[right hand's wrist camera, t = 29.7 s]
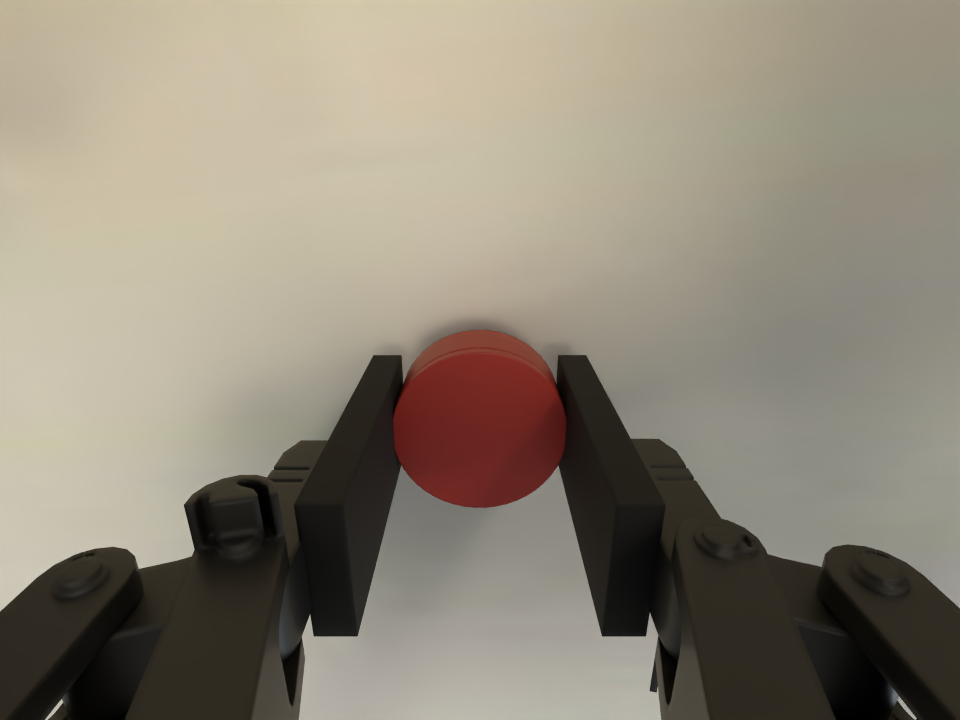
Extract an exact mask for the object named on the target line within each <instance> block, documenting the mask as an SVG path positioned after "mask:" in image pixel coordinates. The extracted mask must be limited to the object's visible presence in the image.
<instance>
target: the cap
mask: <svg viewBox="0 0 960 720" xmlns="http://www.w3.org/2000/svg"><path fill="white" fill-rule="evenodd" d="M566 422H567V417H566V413H565V409H564V406H563V403H562V400H561V397H560V394H559V391H558V388H557V385H556V382H555V379H554V377H553V374H552V372H551V370H550V368H549V367H548V365H547V363H546V362H545V361H544V360H543V358H542V357H541V356H540V355H539V354H538V353H537V352H536V351H535V350H534V349H533V348H531V347H530V346H529V345H527V344H526V343H524V342H523V341H521V340H519V339H517V338H515V337H512V336H510V335H507V334H504V333H500V332H496V331H489V330H471V331H463V332H459V333H456V334H452V335H450V336H447V337H445V338H442V339H441V340H439V341H437V342H435V343H434V344H432V345H431V346H430V347H428V348H427V349H426V350H425V351H424V352H423V353H421V354H420V355H419V356H418V358H417V359H416V360H415V362H414V363H413V364H412V366H411V368H410V369H409V371H408V373H407V376H406V378H405V381H404V383H403V386H402V389H401V392H400V395H399V398H398V401H397V404H396V407H395V411H394V415H393V428H394V443H395V452H396V454H397V457H398V460H399V461H400V463H401V465H402V467H403V469H404V470H405V471H406V473H407V474H408V475H409V477H410V478H411V479H412V480H413V481H414V482H415V483H416V484H417V485H418V486H420V487H421V488H422V489H423V490H425V491H426V492H428V493H429V494H431V495H433V496H434V497H436V498H439V499H441V500H443V501H446V502H449V503H452V504H455V505H460V506H464V507H474V508H486V507H495V506H500V505H504V504H508V503H511V502H514V501H517V500H519V499H521V498H523V497H525V496H527V495H529V494H530V493H532V492H533V491H535V490H536V489H537V488H539V487H540V486H541V485H542V484H543V483H544V482H545V481H546V480H547V479H548V478H549V477H550V476H551V475H552V473H553V472H554V471H555V469H556V468H557V466H558V464H559V462H560V460H561V459H562V456H563V453H564V450H565V438H566Z"/></svg>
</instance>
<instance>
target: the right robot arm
mask: <svg viewBox="0 0 960 720" xmlns="http://www.w3.org/2000/svg"><path fill="white" fill-rule="evenodd" d="M556 385H557V388H558V391H559V394H560V397H561V400H562V403H563V406H564V409H565V413H566V417H567V422H566V438H565V450H564V453H563V456H562V459H561V460H560V462H559V464H558V465H559V469H560V473H561V477H562V481H563V484H564V488H565V492H566V496H567V500H568V504H569V508H570V512H571V516H572V520H573V524H574V528H575V532H576V536H577V540H578V544H579V547H580V551H581V555H582V559H583V563H584V567H585V571H586V575H587V579H588V583H589V587H590V591H591V595H592V599H593V603H594V606H595V610H596V614H597V618H598V622H599V626H600V630H601V634H602V636H646V632H647V626H648V619H649V612H650V614H651V616H652V619H653V622H654V624H655V627H656V630H657V632H658V635H659V636H658V642H657V648H656V654H655V660H654V666H653V672H652V678H651V685H650V691H652V692H657V687H658V691H659V700H660V710H661V720H914V719H913V718H912V717H911V716H910V715H909V714H908V713H907V712H906V711H905V710H904V709H903V707H902V706H901V705H900V703H899V702H898V701H897V699H898V697H900V698H901V699H902V700H903V702H904V703H905V704H906V705H907V707H908V708H909V709H910V710H911V711H912V713H913V714H914V715H915V716H916V718H917V719H916V720H960V608H959V607H957V606H956V605H955V604H954V603H953V602H952V601H951V600H950V599H949V598H948V597H947V596H945V595H944V594H943V593H942V592H941V591H940V590H939V589H938V588H937V587H936V586H935V585H933V584H932V583H931V582H930V581H929V580H928V579H927V578H926V577H925V576H924V575H922V574H921V573H920V572H918V571H917V570H915V569H914V568H913V567H911V566H910V565H909V564H907V563H906V562H904V561H902V560H900V559H898V558H896V557H894V556H892V555H890V554H888V553H885V552H882V551H880V550H875V549H873V548H869V547H865V546H856V545H842V546H836V547H833V548H832V549H830V550H829V551H828V552H827V553H826V554H825V557H824V561H823V564H822V567H819V566H815V565H810V564H805V563H801V562H796V561H792V560H787V559H783V558H779V557H776V556H772V555H769V554H767V552H766V550H765V548H764V547H763V545H762V544H761V542H760V541H759V539H758V538H757V537H756V536H754V535H753V534H752V533H750V532H749V531H748V530H746V529H745V528H744V527H741V526H739V525H737V524H735V523H733V522H730V521H728V520H724V519H721V518H720V516H719V515H718V513H717V512H716V510H715V509H714V507H713V506H712V504H711V503H710V501H709V500H708V498H707V497H706V495H705V494H704V492H703V491H702V489H701V488H700V486H699V485H698V483H697V481H696V480H694V477H693V475H692V474H691V472H690V471H689V469H688V468H686V465H685V463H684V462H683V460H682V459H681V457H680V456H679V454H678V453H677V451H675V450H674V449H672V448H671V447H670V446H668V445H667V444H665V443H664V442H662V441H661V440H660V439H630V437H629V435H628V433H627V431H626V429H625V427H624V425H623V424H622V422H621V420H620V418H619V416H618V414H617V412H616V410H615V409H614V407H613V405H612V403H611V401H610V399H609V397H608V395H607V394H606V392H605V390H604V388H603V386H602V384H601V382H600V380H599V379H598V377H597V375H596V373H595V371H594V369H593V367H592V365H591V364H590V362H589V360H588V358H587V356H586V355H558V366H557V384H556ZM402 386H403V372H402V355H373V357H372V359H371V361H370V363H369V365H368V367H367V369H366V370H365V372H364V374H363V376H362V378H361V380H360V382H359V384H358V385H357V387H356V389H355V391H354V393H353V395H352V397H351V399H350V400H349V402H348V404H347V406H346V408H345V410H344V412H343V414H342V415H341V417H340V419H339V421H338V423H337V425H336V427H335V429H334V430H333V432H332V434H331V436H330V438H329V440H328V441H300V442H298V443H297V444H296V445H294V446H293V447H291V448H290V449H288V450H287V451H286V452H284V453H283V455H282V456H281V458H280V459H279V461H278V462H277V464H276V465H275V467H274V470H272V471H271V473H270V474H269V476H268V477H267V478H266V477H263V476H259V475H238V476H234V477H229V478H224V479H221V480H219V481H216V482H214V483H211V484H209V485H206V486H205V487H203V488H202V489H200V490H199V491H197V492H196V493H194V494H193V495H192V496H191V497H190V498H189V499H188V501H187V502H186V503H185V504H184V507H185V512H186V516H187V520H188V524H189V528H190V532H191V536H192V540H193V544H194V549H195V550H194V553H193V555H192V557H189V558H185V559H182V560H178V561H174V562H169V563H165V564H160V565H156V566H151V567H146V568H142V569H138V565H137V562H136V559H135V556H134V555H133V554H132V553H131V552H129V551H128V550H127V549H122V548H116V547H107V548H98V549H93V550H89V551H86V552H82V553H79V554H76V555H74V556H72V557H70V558H68V559H66V560H64V561H62V562H60V563H58V564H55V565H54V566H52V567H51V568H50V569H48V570H47V571H46V572H44V573H43V574H42V575H40V576H39V577H37V578H36V579H35V580H34V581H33V582H32V583H31V584H30V585H29V586H28V587H27V588H25V589H24V590H23V591H22V592H21V593H20V594H19V595H18V596H17V597H16V598H15V599H14V600H12V601H11V602H10V603H9V604H8V605H7V606H6V607H5V608H4V609H3V610H2V611H0V720H45V719H46V717H47V716H48V715H49V714H50V712H51V711H52V710H53V709H54V707H55V706H56V705H57V704H58V702H59V701H60V700H61V699H62V700H63V704H62V705H61V706H60V707H59V709H58V710H57V711H56V712H55V714H54V715H52V716H51V717H50V718H49V719H48V720H299V711H300V702H301V692H302V682H303V673H304V663H305V655H304V648H303V642H302V634H303V631H304V629H305V626H306V623H307V621H308V618H309V615H311V621H312V628H313V634H314V636H358V633H359V629H360V625H361V621H362V617H363V613H364V609H365V605H366V601H367V597H368V593H369V589H370V585H371V582H372V578H373V574H374V570H375V566H376V562H377V558H378V554H379V550H380V546H381V542H382V538H383V534H384V530H385V526H386V522H387V519H388V515H389V511H390V507H391V503H392V499H393V495H394V491H395V487H396V483H397V479H398V475H399V471H400V467H401V463H400V461H399V460H398V457H397V454H396V452H395V443H394V428H393V415H394V411H395V407H396V404H397V401H398V398H399V395H400V392H401V389H402Z"/></svg>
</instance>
